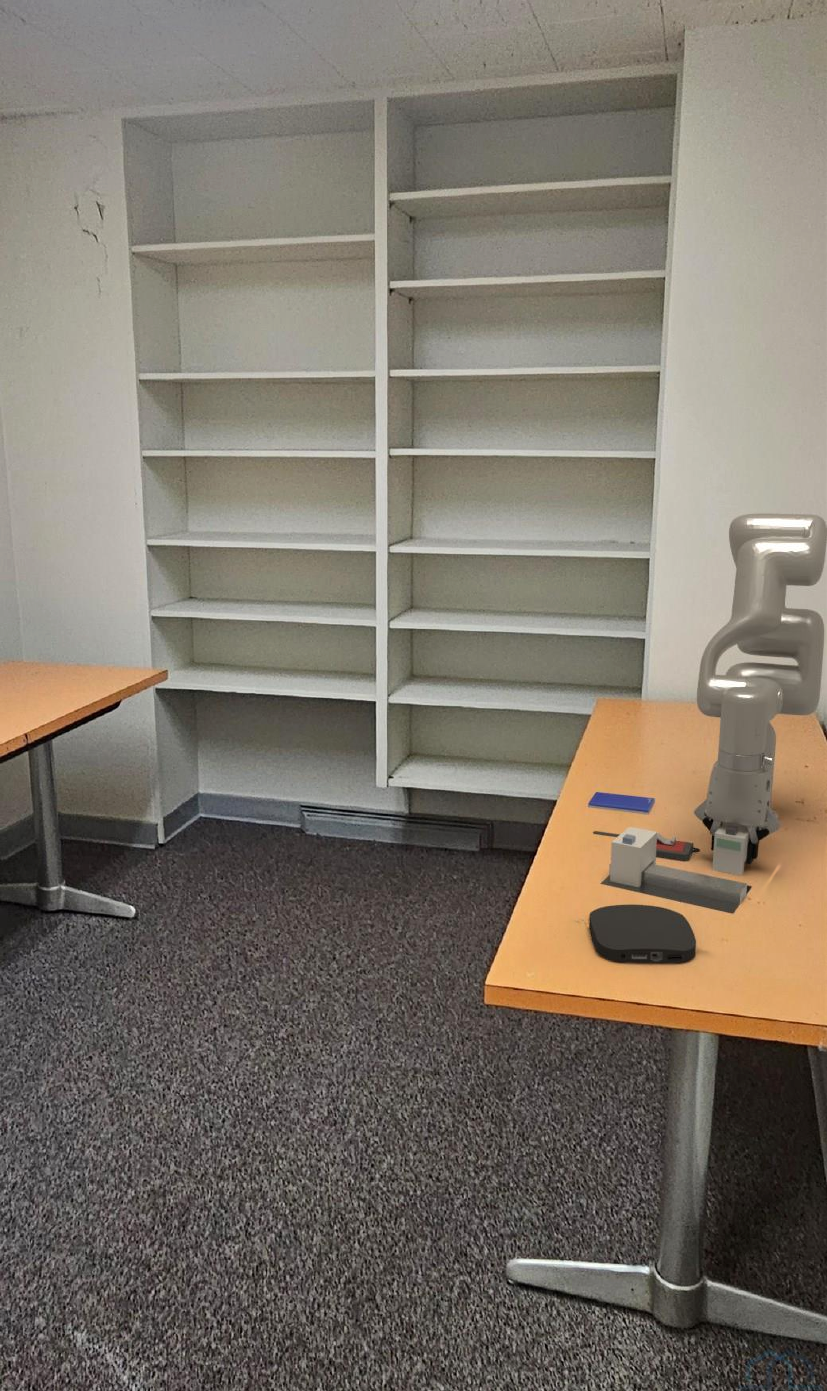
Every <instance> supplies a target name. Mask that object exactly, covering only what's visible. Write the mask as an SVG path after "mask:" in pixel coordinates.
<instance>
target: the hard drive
mask: <svg viewBox="0 0 827 1391" xmlns="http://www.w3.org/2000/svg"><path fill="white" fill-rule="evenodd" d="M588 801H589V802H588V803H587V804H588V805H587V807H588V808H592V809H600V810H607V811H615V812H624V813H632V814H640V815H650V813H651V811H652V808H653V807H654V805H655V803H656V798H655V797H645V796H638V795H629V794H627V795H626V794H621V793H619V794H618V793H609V792H602V791H601V792H600V791H596V792H595V793H594V794H593V796H592V797H591V798H590V800H588Z"/></svg>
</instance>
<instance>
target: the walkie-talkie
mask: <svg viewBox="0 0 827 1391" xmlns="http://www.w3.org/2000/svg"><path fill="white" fill-rule="evenodd" d="M592 834H593V835H599V836H606V837H614V838H617V837H618V836H619V835H620V834H621V833H619V834H618V833H612V832H606V831H598V830H594V831H592ZM700 850H701V849H699V847H694V842H688V841H681V840H677V838H676V837H675V836H673V837H671V838H670V839H668V838H666V837H664V836H663V835H662V834H661V833H659V832H657V845H656V858H658V859H664V860H672V861H677V862H684V863H685V862H689V860H690V859H691V856H692V854H693V853H699V852H700Z"/></svg>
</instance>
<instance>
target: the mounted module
mask: <svg viewBox="0 0 827 1391" xmlns="http://www.w3.org/2000/svg"><path fill="white" fill-rule="evenodd" d="M657 833H658V832H657V831H654V830H648V829H644V828H639V827H632V826H628V827H627V828H626V829H625V830H624V831H623V832H621V833H619V834H620V835H619V836H618V837H615V839H613V840H612V841H611V848H610V863H611V868H610V881H612V882H616V883H621V884H625V885H630V886H634V887H639V886H640V885H641V875H642V871H643V870H644V869H645V868H646V867H647V866H648V865H649V864H650V863H651V864H656V865H657V863H656V862H657V861H656V859H657V857H656V845H657Z"/></svg>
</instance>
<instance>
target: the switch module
mask: <svg viewBox="0 0 827 1391" xmlns="http://www.w3.org/2000/svg"><path fill="white" fill-rule="evenodd" d="M749 841H750V835H749V830H748V826H743V825H737V824H732V823H727V822H724V823H723V824H722V825H721V826H720V827H719V829H718V830H717V831H716V832H715V837H714V851H713V854H712V856H713V857H712V869H711V870H712V871H715V872H716V871H717V872H720V873H726V874H732V875H735V876H736V875H737V876H740V877H742V876H743V875H744V873H745V872H744V871H745V863H746V859H747V847H748V842H749Z"/></svg>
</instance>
